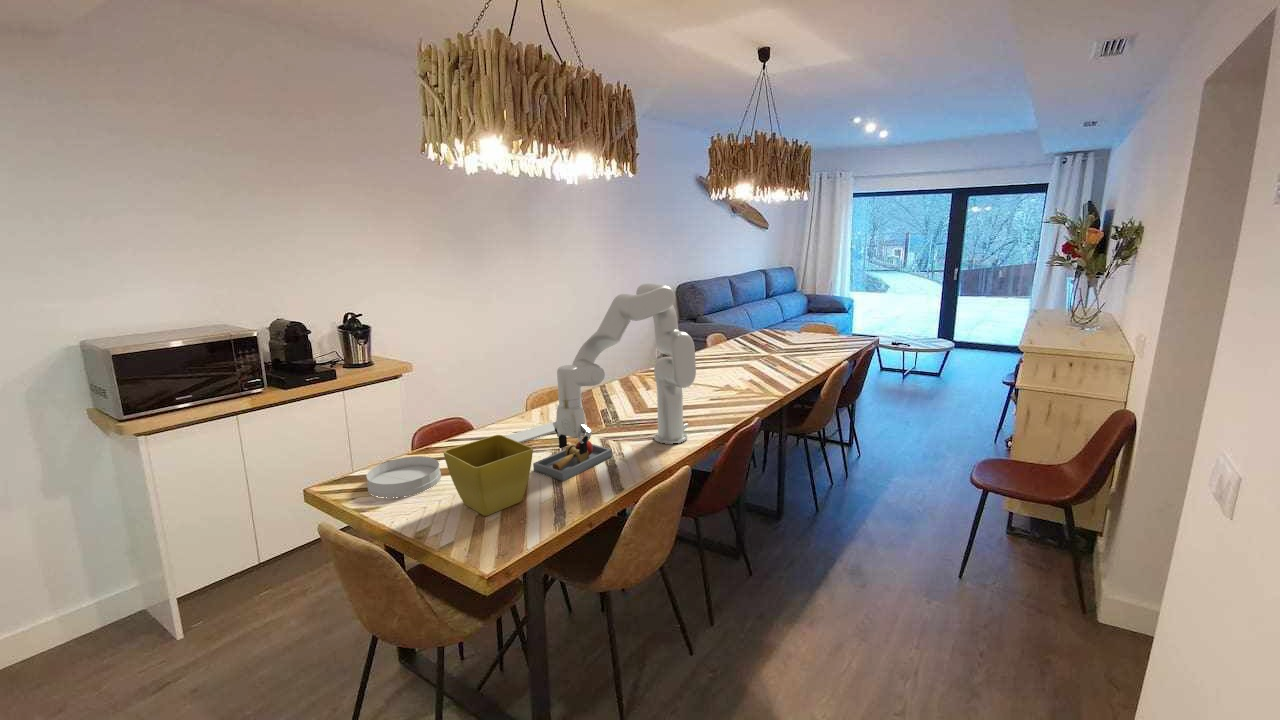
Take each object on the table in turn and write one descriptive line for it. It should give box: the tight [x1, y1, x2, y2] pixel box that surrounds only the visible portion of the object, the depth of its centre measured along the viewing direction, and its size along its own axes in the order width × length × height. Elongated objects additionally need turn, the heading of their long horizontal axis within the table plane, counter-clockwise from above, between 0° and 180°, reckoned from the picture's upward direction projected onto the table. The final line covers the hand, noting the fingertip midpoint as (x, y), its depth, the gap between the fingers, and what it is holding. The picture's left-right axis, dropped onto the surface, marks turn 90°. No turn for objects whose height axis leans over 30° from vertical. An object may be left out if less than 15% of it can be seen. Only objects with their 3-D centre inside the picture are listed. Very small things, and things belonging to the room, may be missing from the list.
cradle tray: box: [532, 443, 613, 482], centre depth 191 cm, size 24×14×3 cm, turn 142°
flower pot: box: [442, 434, 534, 517], centre depth 164 cm, size 19×19×17 cm
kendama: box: [553, 440, 593, 470], centre depth 190 cm, size 8×6×18 cm
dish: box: [366, 455, 442, 499], centre depth 180 cm, size 22×22×5 cm
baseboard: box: [504, 421, 556, 443], centre depth 221 cm, size 31×3×12 cm
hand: (573, 450), depth 191 cm, fingers open, 9 cm apart
